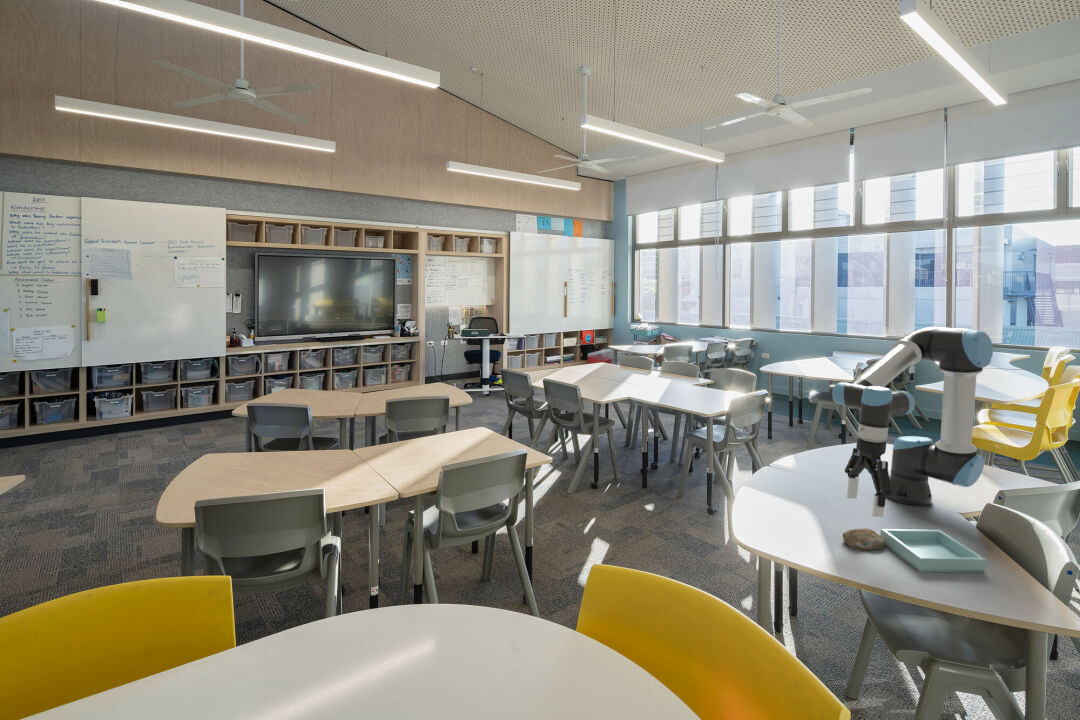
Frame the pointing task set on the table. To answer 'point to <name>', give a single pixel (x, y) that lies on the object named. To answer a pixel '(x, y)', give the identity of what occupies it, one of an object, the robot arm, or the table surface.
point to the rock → (863, 539)
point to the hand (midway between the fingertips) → (864, 506)
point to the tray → (932, 551)
